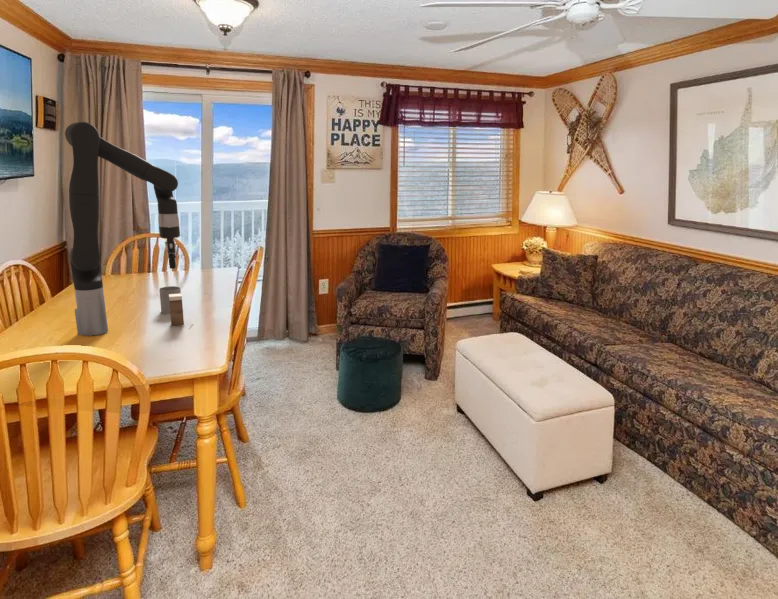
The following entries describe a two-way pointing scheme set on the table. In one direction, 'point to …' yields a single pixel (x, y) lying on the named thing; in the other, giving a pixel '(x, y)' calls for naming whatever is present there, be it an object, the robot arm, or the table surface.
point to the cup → (167, 297)
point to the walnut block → (176, 309)
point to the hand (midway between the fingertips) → (172, 266)
